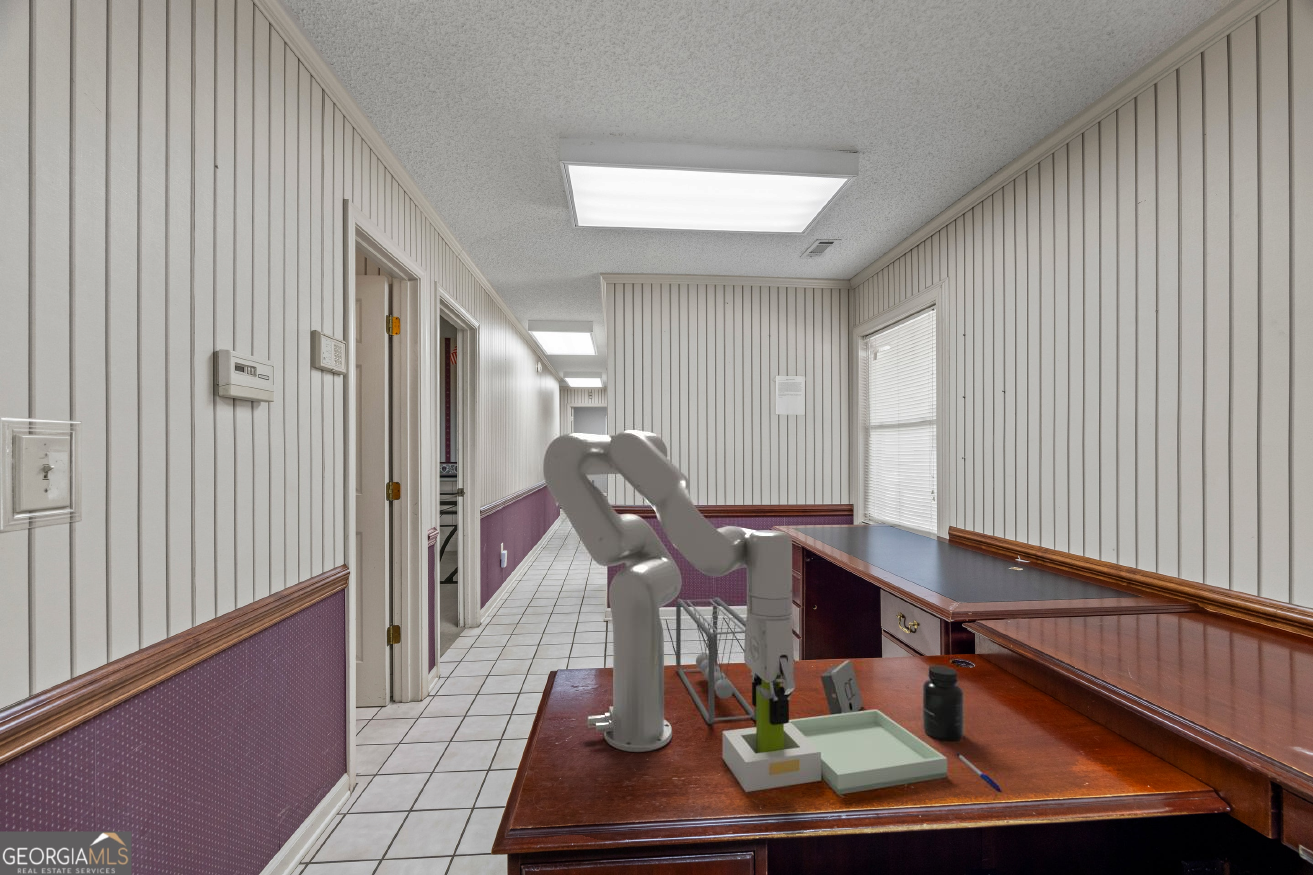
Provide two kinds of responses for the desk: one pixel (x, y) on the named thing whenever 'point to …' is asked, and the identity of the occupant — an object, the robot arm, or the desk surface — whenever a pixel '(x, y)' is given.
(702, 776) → the desk surface
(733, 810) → the desk surface
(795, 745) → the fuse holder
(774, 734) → the vape
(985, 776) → the ballpoint pen
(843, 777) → the parts tray
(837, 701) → the electrical switch
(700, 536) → the robot arm
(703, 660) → the newton's cradle
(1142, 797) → the desk surface
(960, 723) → the supplement bottle
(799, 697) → the desk surface
